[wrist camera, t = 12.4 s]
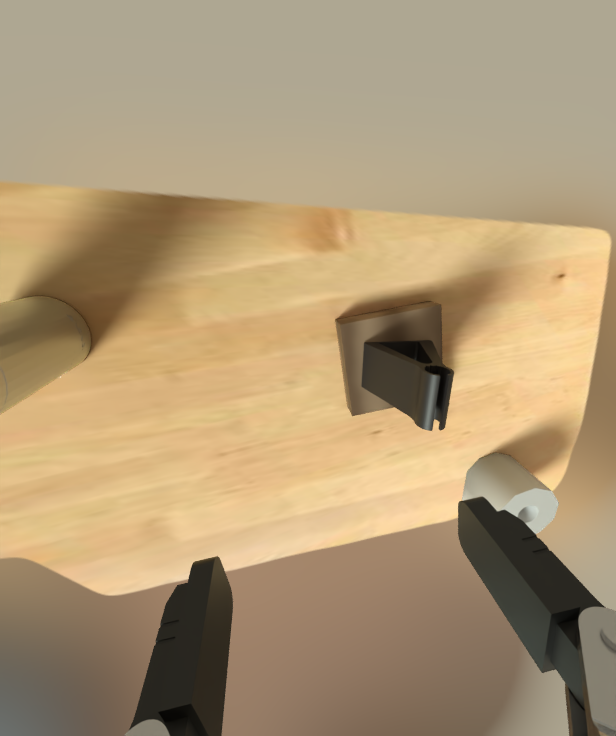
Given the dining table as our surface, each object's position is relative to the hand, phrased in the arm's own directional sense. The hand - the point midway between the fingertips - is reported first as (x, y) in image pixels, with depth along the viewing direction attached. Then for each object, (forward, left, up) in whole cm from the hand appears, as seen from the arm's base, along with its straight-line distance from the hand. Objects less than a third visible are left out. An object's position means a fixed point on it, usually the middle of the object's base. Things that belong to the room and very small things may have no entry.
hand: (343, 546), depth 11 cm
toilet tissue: (+28, -34, -34) cm, 56 cm away
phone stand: (+13, -8, -31) cm, 35 cm away
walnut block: (+13, -8, -34) cm, 37 cm away
